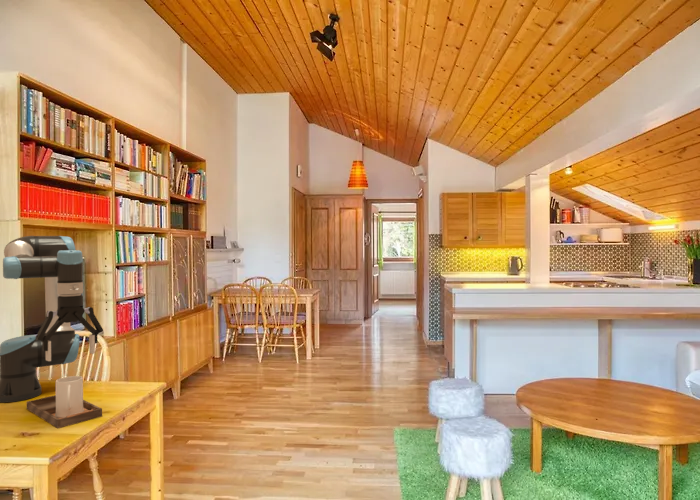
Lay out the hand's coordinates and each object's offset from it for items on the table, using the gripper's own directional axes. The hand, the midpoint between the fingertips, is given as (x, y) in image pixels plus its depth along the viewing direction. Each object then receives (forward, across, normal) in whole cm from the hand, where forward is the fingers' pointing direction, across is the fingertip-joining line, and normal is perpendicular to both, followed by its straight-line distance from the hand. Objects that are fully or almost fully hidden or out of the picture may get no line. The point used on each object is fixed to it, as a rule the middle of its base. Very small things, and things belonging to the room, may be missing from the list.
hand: (71, 356), depth 158 cm
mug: (+20, -1, 0) cm, 20 cm away
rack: (+21, 0, +7) cm, 22 cm away
